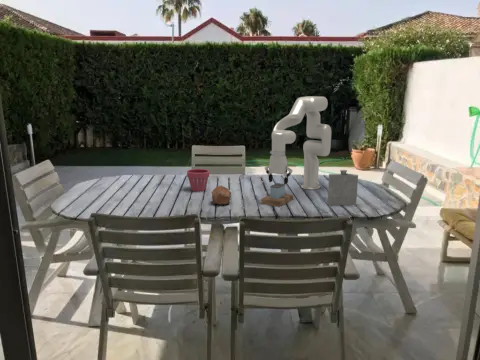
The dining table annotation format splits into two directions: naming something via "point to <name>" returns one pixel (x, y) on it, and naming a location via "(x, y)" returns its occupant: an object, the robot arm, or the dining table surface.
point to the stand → (277, 200)
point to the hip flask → (342, 188)
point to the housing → (277, 190)
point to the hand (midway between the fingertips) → (278, 182)
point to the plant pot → (198, 179)
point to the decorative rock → (221, 195)
